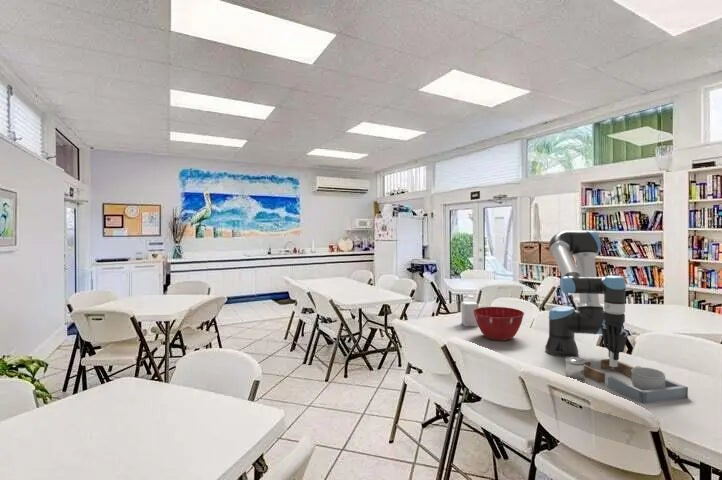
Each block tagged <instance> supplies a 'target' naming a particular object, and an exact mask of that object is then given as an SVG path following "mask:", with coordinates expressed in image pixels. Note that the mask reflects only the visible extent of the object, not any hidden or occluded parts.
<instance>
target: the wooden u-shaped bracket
mask: <svg viewBox="0 0 722 480" xmlns="http://www.w3.org/2000/svg"><path fill="white" fill-rule="evenodd" d="M609 360H610V358H604V359H603V358H602V359H600V369H601V370H614V369H615V371H618V372H619V371H620V373H622V374H625V375H626V376H629V377H631V378H632V374H631V369H633V368H635V367H636V366H633V365H630V364H627V363H625V362H623V361H620V360H618V367H611V366H609ZM584 361H585V364H584V376H585V377H588V378H591V379H593V380H595V381H596V380H597V382H599V383H601V384H606V373H605V372H603V371H601V370H599V369H596V368H595V367H592V362H591V361H589V360H584ZM611 368H613V369H611Z"/></svg>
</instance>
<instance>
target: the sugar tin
mask: <svg viewBox="0 0 722 480" xmlns="http://www.w3.org/2000/svg"><path fill="white" fill-rule="evenodd" d="M564 358H565V359H564V360H565V377H566V376H567V377H570V378H573V379H577V380H581V381H580V382H582V381H584V380H585V375H584V364H585V361H586V360H585V359H582V358H580V357H577V356H575V357H564Z"/></svg>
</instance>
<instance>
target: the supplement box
mask: <svg viewBox="0 0 722 480" xmlns="http://www.w3.org/2000/svg"><path fill="white" fill-rule="evenodd" d="M477 308H479V303H477V302H475V301H461V325H463V326H464V327H479V326H478V324H477V322H476V319H475V315H474V312H473V310H475V309H477Z"/></svg>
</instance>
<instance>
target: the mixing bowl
mask: <svg viewBox="0 0 722 480" xmlns="http://www.w3.org/2000/svg"><path fill="white" fill-rule="evenodd" d="M473 312H474V315H475V319H476V322H477V324H478V326H477V327H478V328H479V331H480V332H481V334H483V335H484V336H485V337H486V338H487V339H490V340H494V341H508V340H510V339H512V338H514V337H515V336H516V335H517V333H518V331H519V329H520V327H521V325H522V322H523V318H524V315H525V312H524V311H522V310H520V309H517V308H512V307H504V306H485V307H483V306H482V307H478V308H477V309H475V310H473Z"/></svg>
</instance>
